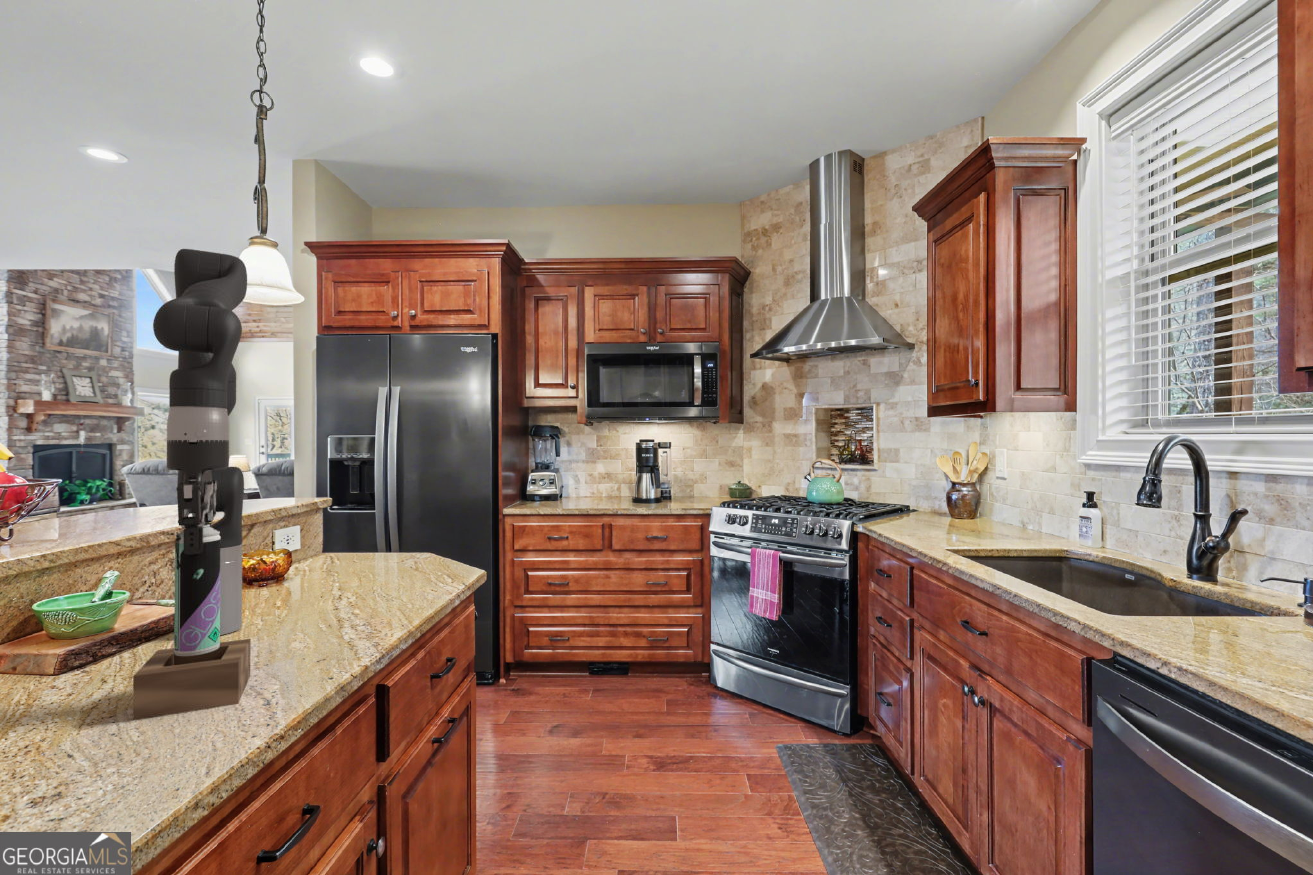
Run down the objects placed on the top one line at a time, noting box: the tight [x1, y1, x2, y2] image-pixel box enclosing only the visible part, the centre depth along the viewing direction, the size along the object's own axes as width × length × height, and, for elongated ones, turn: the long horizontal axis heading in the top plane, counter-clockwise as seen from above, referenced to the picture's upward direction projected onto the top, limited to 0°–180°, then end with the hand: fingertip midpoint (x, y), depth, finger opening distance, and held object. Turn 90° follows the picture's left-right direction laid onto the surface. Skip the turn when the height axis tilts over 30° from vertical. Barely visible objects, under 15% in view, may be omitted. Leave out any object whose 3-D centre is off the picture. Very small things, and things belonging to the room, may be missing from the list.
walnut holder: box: [132, 638, 251, 721], centre depth 92 cm, size 12×12×6 cm
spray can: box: [173, 517, 221, 656], centre depth 92 cm, size 6×6×20 cm
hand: (197, 550), depth 92 cm, fingers closed on spray can, 5 cm apart
